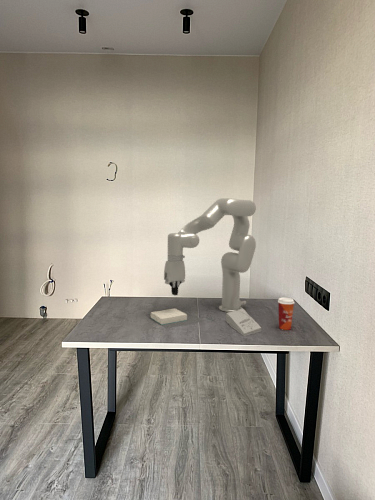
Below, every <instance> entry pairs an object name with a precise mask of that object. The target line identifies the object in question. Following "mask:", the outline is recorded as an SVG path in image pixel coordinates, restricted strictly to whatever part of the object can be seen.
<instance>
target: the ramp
mask: <svg viewBox="0 0 375 500" xmlns="http://www.w3.org/2000/svg"><path fill="white" fill-rule="evenodd" d="M225 317H226V319H225V322H226V323H227V324H228V326H230V328H231V329H234V331H236V332H238V333H239V334H241V336H243V337H247V336H249V335H254V334H256V333H260V332H262V327H261V326H260V324H259V323H258V322H257V321H255V319H254V318H253V317H252V316H250V315H249V314H248V312H247V311H246V310H245V309H244V308H243V307H242V308H241V309H240V310H238V311H233V312H225Z"/></svg>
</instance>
